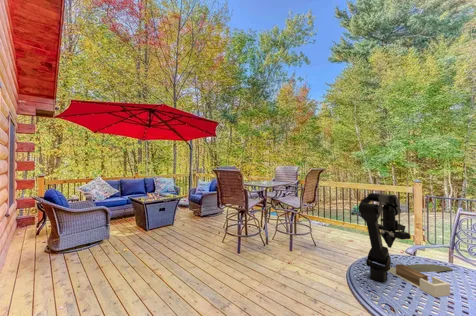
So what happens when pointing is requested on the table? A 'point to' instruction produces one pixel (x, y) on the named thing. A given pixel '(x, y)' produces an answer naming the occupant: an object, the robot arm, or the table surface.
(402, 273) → the slat
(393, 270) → the board
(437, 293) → the end cap
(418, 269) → the stone slab
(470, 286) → the table surface
